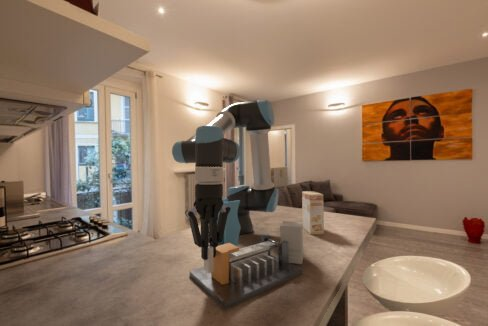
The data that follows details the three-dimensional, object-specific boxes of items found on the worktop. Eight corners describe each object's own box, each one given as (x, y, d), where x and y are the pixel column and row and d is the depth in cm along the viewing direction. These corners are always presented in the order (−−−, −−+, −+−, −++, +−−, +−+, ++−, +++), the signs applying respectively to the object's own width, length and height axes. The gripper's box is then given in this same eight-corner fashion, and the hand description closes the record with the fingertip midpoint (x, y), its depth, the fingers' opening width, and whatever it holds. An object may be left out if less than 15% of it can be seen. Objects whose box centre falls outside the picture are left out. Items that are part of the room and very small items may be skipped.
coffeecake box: (324, 234, 106) (324, 194, 106) (309, 234, 106) (309, 194, 107) (315, 226, 121) (314, 191, 121) (302, 226, 121) (301, 191, 122)
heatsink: (189, 276, 66) (189, 247, 67) (259, 253, 83) (259, 231, 84) (225, 310, 51) (224, 272, 51) (302, 273, 67) (301, 245, 68)
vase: (240, 251, 85) (240, 200, 86) (225, 258, 80) (225, 202, 80) (227, 247, 91) (226, 198, 91) (211, 252, 85) (211, 200, 85)
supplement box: (303, 256, 81) (303, 221, 81) (302, 264, 74) (301, 227, 74) (283, 253, 83) (283, 220, 83) (280, 262, 76) (279, 225, 76)
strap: (219, 257, 65) (219, 251, 65) (269, 242, 77) (269, 238, 77) (231, 264, 60) (231, 258, 60) (282, 247, 72) (282, 242, 72)
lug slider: (211, 276, 63) (211, 246, 63) (228, 270, 67) (228, 242, 67) (222, 285, 58) (222, 253, 58) (240, 278, 62) (240, 248, 62)
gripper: (192, 184, 53) (191, 283, 52) (236, 182, 61) (236, 269, 60) (181, 183, 59) (180, 272, 58) (222, 181, 67) (221, 259, 66)
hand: (208, 270), depth 59 cm, fingers closed
